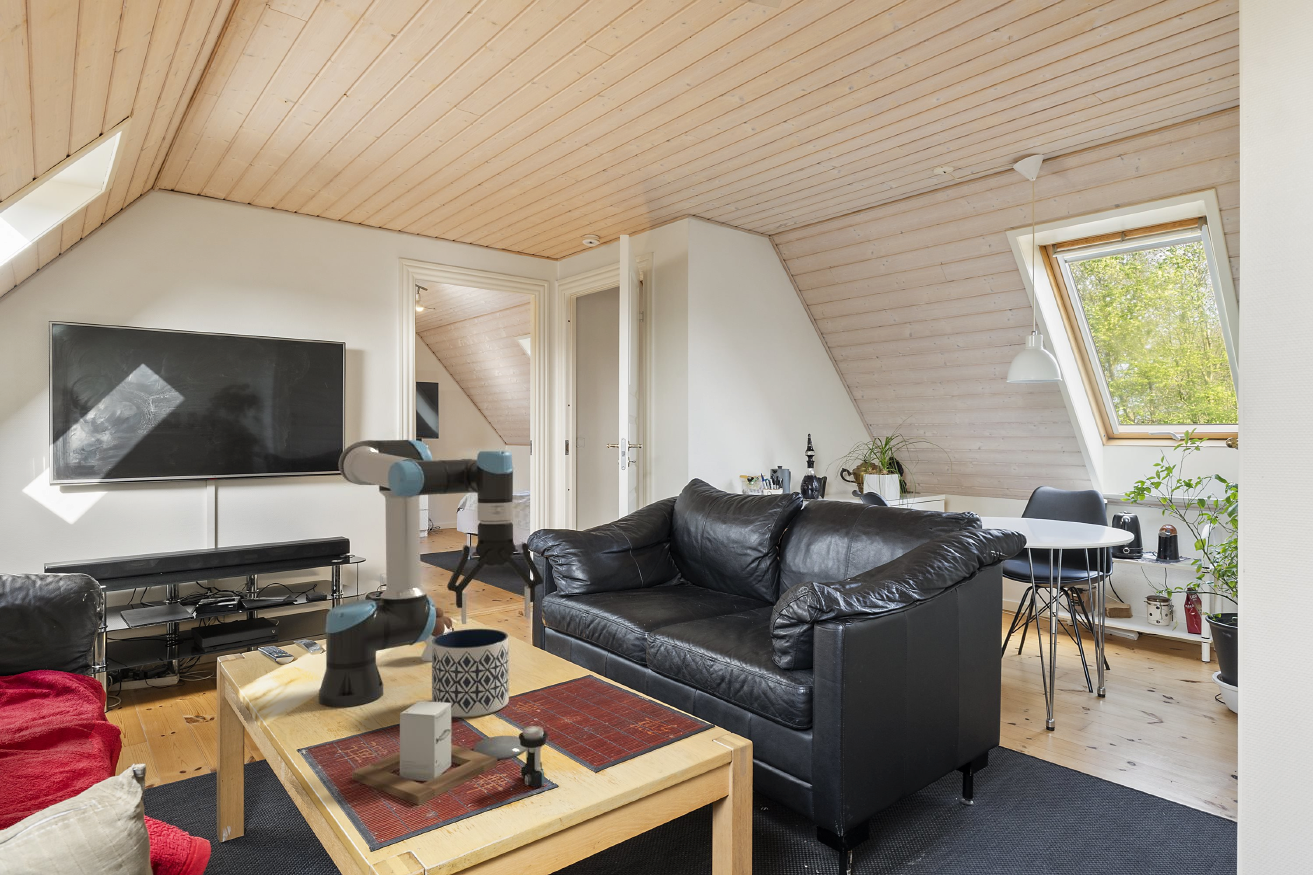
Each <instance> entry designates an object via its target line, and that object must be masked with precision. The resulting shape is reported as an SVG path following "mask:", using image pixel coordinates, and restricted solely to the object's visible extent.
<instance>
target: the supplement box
mask: <svg viewBox="0 0 1313 875" xmlns="http://www.w3.org/2000/svg"><path fill="white" fill-rule="evenodd" d="M451 744H452V717H451V703H444V702H432V701H424V700H423V701H422V700H420V701H417V702H415V703H414V704H412V705H411V706H409V707H408V708H406V709H405V710H404V711H402V712H400V713H399V752H400V768H399V776H401V777H403V778H406V779H409V780H412V781H417V782H427V781H429V780H432V779H434V778H436V777H438V776H440V775H442V774H444V772H446V770H448V769H449V768H451V766H452V762H451Z"/></svg>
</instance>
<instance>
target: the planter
mask: <svg viewBox="0 0 1313 875" xmlns="http://www.w3.org/2000/svg"><path fill="white" fill-rule="evenodd" d="M509 646H510V644H509V635H508V633H507V632H505V631H502V630H498V629H490V628H470V629H469V628H467V629H459V630H458V629H457V630H452V632H448V633H444V634H441V635H439V636H437V637H435V638H434V639H433V640H432V662H431V702H444V703H451V718H464V719H466V718H476V717H481V716H486V715H491V714H493V713H495V712H498V711H499V710H501V709H503V708H504V707H506V706H507V705H508V703H509V700H510V687H509V686H510V668H509V667H510V665H509V664H510V663H509V662H510V658H509V657H510V656H509V653H510V651H509V648H510V647H509Z"/></svg>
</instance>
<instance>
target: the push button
mask: <svg viewBox="0 0 1313 875" xmlns="http://www.w3.org/2000/svg"><path fill="white" fill-rule="evenodd" d="M548 734H549V733H548V732H547V731H546V730H544V728H543V727H542V726H538V725H536V726H535V725H530V726H527V727H525V728H524V729H523V731H522V732H520V733H519V734H518V737H519V739H520V745H521V746H523V747H525V748H526V751H525V764H524V766H522V767H520V768H519V770H520V771H521V772H520V773H519V775H520V776H522V780H523V782H524V784H525V785H526V786H529V785H530V786H531V788H532V789H537V788H540V787H543V786H544V785H545V772H544V769H543V764H542V761H541V752H542V751H541V750H542V747H543V746H545V745H546V743H547V739H548V736H549V735H548Z"/></svg>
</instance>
